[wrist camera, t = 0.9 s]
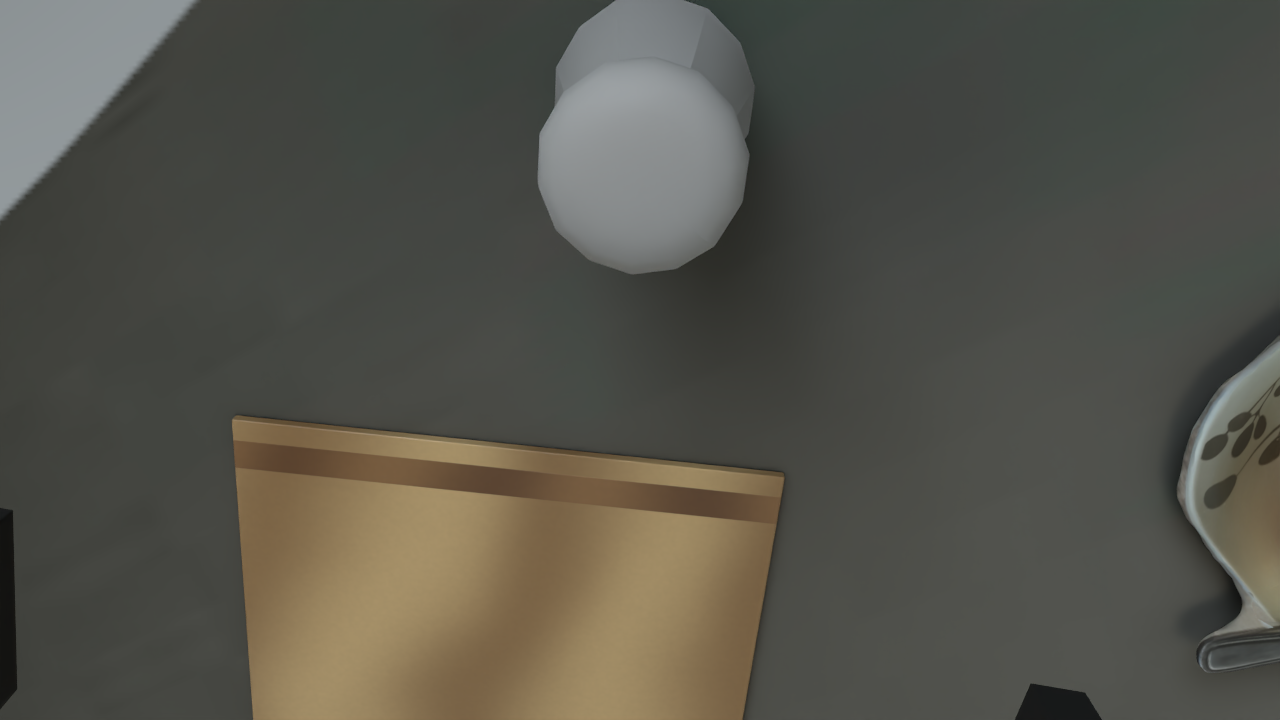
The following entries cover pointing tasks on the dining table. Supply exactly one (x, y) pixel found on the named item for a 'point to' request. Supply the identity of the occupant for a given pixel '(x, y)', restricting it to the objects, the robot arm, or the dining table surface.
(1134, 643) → the dining table surface
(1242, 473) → the salad plate
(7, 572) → the robot arm
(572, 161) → the salt shaker
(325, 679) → the placemat
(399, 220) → the dining table surface
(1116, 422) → the dining table surface
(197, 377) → the dining table surface
